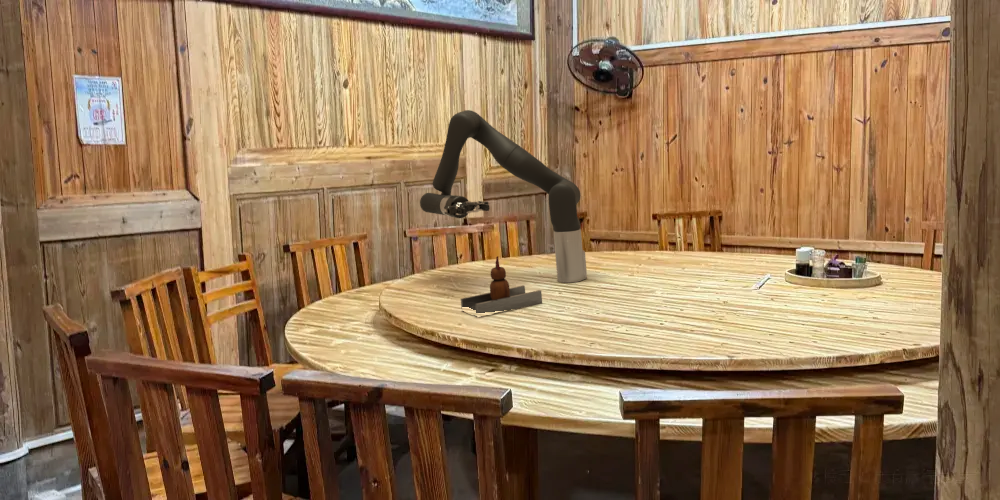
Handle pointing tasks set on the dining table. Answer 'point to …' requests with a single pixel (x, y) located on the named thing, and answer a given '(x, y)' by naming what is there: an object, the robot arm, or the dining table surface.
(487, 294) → the sliding track
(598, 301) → the dining table surface
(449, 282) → the dining table surface
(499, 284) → the wooden figurine
